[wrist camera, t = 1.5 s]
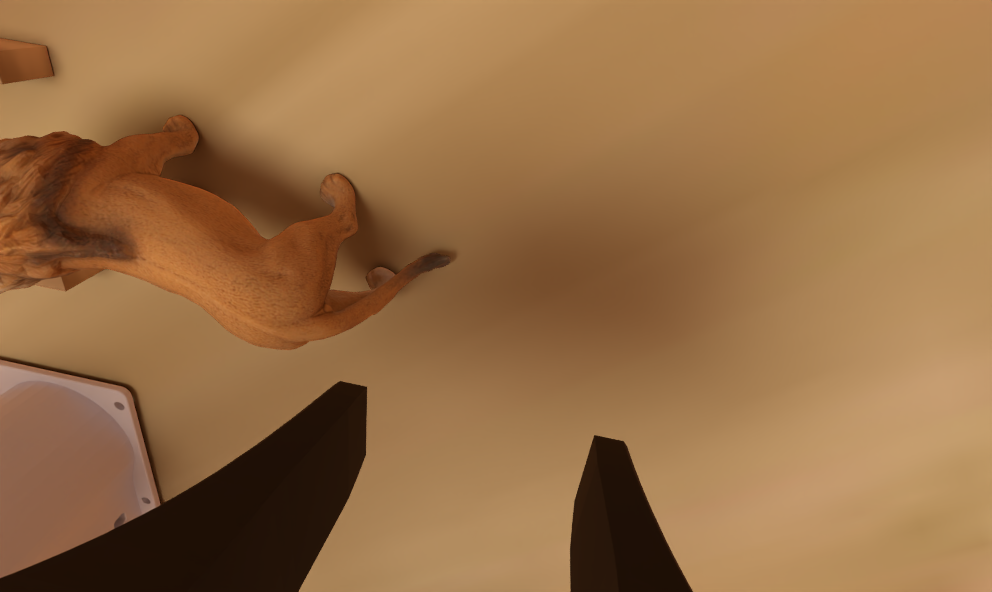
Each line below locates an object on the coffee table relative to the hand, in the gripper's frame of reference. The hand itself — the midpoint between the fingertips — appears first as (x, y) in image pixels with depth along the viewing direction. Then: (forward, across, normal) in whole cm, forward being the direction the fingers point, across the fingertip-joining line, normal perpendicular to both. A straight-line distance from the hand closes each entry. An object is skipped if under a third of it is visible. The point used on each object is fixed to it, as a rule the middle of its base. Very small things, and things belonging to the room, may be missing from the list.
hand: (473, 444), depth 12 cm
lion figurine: (+10, +10, 0) cm, 15 cm away
